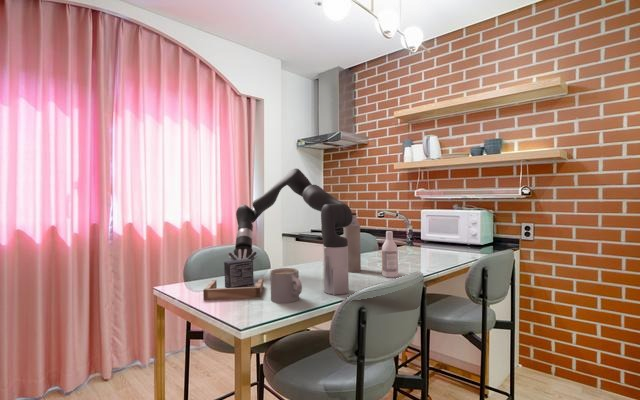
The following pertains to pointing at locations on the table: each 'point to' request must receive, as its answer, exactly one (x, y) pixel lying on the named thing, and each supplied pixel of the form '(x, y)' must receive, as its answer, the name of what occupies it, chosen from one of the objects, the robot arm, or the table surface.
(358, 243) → the thermos bottle
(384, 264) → the bath foam
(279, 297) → the coffee mug
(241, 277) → the small box
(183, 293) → the table surface
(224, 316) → the table surface
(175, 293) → the table surface
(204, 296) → the walnut tray
